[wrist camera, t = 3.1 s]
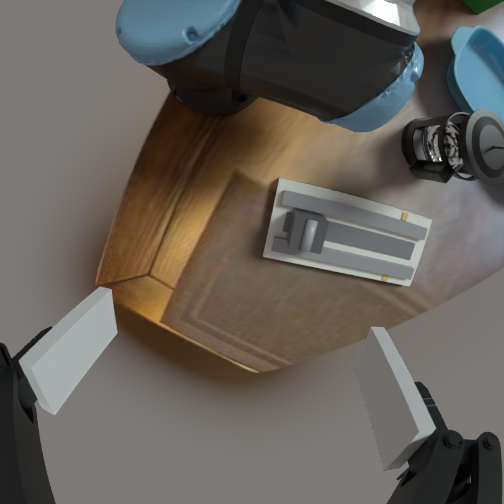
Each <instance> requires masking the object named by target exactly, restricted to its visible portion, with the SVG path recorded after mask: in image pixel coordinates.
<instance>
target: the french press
mask: <svg viewBox="0 0 504 504" xmlns="http://www.w3.org/2000/svg"><path fill="white" fill-rule="evenodd" d="M456 114H458V115H462V116H465V118H464V119H463V121H462V123H457V124H454V123H453V122H452V121H450V119H451V118H452V117H453V116H454V115H456ZM422 127H425V129H424V133H423V140H422V144H423V150H424V154H425V157H426V159H427V160H417V158H416V155H415V152H414V149H413V135H414V132H415V129H416V128H422ZM402 150H403V154H404V156H405V159H406V161H407V162H408V164H409V165H410V168H409V170H410V171H411V172H412V174H413V175H414V176H415V177H416V178H421V179H426V180H432V181H437V182H441V183H447V182H448V181H449V179H450V178H451V177H452V176H455V177H457V178H459V179H462V180H467V181H473V180H476V179H480V180H481V181H482V182H483V183H485V184H487V185H491V186H497V185H499V184H501V183H502V182H504V123H503V121H502V120H501V119H500V118H499V116H498V115H497V114H495V113H494V112H493V111H491V110H488V109H478V110H476V111H474V112H473V113H472V114H468V113H465V112H458V113H452V114H450V115H448V116H443V117H438V118H426V119H423V118H419V119H415V120H413V121H411V122H410V123H409V124H408V125H407V126H406V127H405V129H404V131H403V135H402ZM463 163H464V164H463ZM456 172H457V173H464V174H470V175H473V176H472V177H469V178H463V177H461V176H460V175H459V174H457V173H456Z"/></svg>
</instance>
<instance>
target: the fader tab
mask: <svg viewBox="0 0 504 504" xmlns="http://www.w3.org/2000/svg"><path fill="white" fill-rule="evenodd" d="M328 226H329V221H328V220H327V219H326V218H325V217H324V216H323V215H321V214H317V213H312V212H308V211H303V210H299V209H294V208H293V212H292V216H291V221H290V225H289V230H288V234H287V242H288V248H293V249H298V250H302V251H307V252H312V253H317V254H321V252H322V248H323V244H324V241H325V237H326V233H327V229H328Z"/></svg>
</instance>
